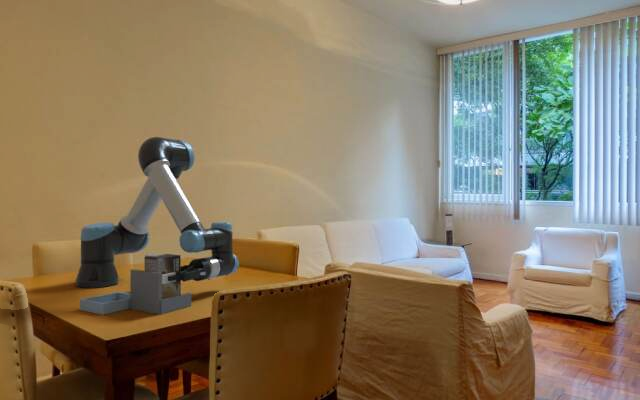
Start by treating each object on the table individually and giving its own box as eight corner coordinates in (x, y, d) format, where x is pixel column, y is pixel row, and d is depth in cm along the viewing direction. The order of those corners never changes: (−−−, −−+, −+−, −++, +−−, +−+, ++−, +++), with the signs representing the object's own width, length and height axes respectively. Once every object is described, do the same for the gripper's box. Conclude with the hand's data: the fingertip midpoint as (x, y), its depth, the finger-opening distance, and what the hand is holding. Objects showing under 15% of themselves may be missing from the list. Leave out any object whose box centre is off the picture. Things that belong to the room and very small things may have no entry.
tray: (79, 309, 141) (79, 299, 141) (118, 301, 153) (118, 291, 153) (103, 314, 136) (103, 304, 135) (141, 305, 147) (141, 295, 147)
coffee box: (167, 302, 152) (168, 253, 151) (181, 305, 148) (181, 254, 148) (143, 308, 144) (144, 256, 144) (157, 311, 140) (157, 258, 140)
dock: (129, 308, 143) (129, 269, 143) (161, 300, 154) (161, 264, 154) (159, 314, 136) (160, 273, 136) (191, 305, 147) (191, 268, 147)
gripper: (225, 282, 157) (172, 295, 137) (183, 276, 166) (128, 287, 146) (225, 260, 157) (172, 269, 137) (183, 255, 166) (128, 263, 146)
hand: (149, 278), depth 141 cm, fingers closed on coffee box, 6 cm apart
